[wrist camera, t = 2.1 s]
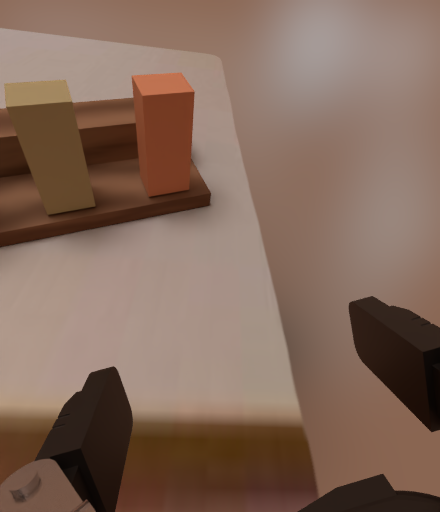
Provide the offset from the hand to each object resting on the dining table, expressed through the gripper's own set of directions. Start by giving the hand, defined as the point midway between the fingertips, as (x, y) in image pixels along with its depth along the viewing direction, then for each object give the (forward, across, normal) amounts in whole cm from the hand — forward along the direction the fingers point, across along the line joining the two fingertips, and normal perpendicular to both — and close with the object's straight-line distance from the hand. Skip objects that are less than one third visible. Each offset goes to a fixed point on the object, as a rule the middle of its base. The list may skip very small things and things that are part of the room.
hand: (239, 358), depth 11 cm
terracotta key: (+33, +3, -6) cm, 34 cm away
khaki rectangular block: (+30, +13, -7) cm, 34 cm away
